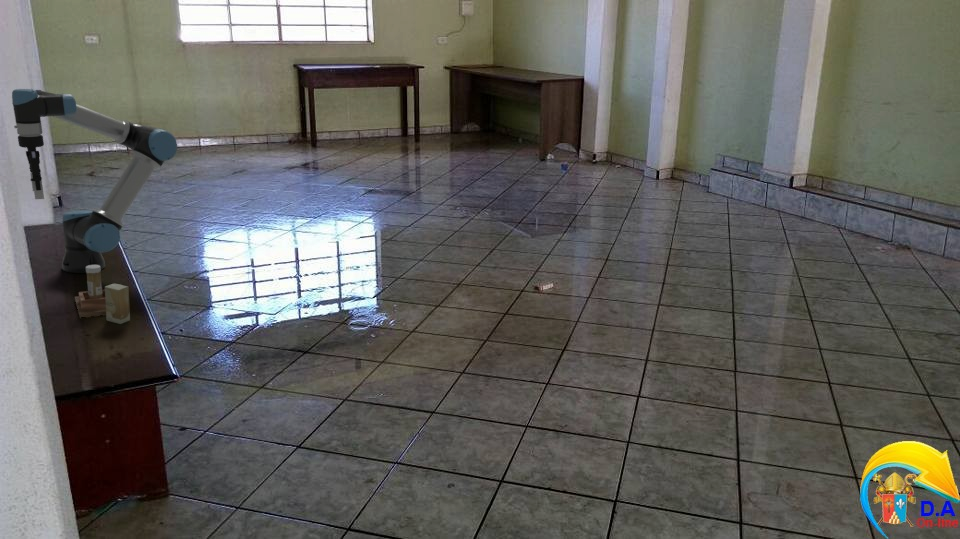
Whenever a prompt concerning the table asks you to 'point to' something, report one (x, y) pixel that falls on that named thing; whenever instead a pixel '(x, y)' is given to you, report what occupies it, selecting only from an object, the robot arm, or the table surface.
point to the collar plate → (90, 305)
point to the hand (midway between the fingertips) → (38, 194)
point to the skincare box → (117, 303)
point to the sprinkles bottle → (94, 281)
